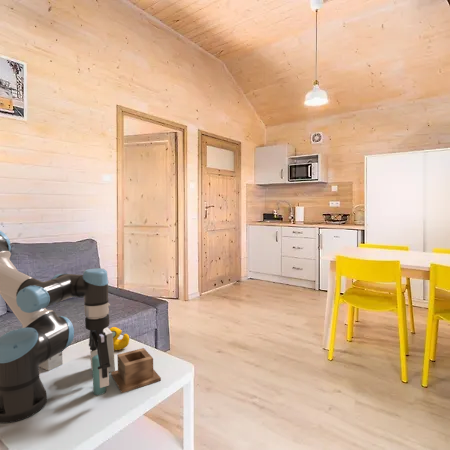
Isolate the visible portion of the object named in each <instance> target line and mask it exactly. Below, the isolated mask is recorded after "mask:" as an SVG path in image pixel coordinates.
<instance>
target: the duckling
mask: <svg viewBox="0 0 450 450" xmlns="http://www.w3.org/2000/svg"><path fill="white" fill-rule="evenodd" d="M109 329H110V330H111V332H112V333H113V347H114V352H116V351H120V350H122V349H125V348H126V347H128V346H129V344H130V335H129V334H128V333H124V334H123V336H122V338H121V339H120V336H121V334H122V331H123V330H122V329H120V328H118V327H116V326H113V327H110V328H109Z"/></svg>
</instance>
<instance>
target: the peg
mask: <svg viewBox="0 0 450 450" xmlns="http://www.w3.org/2000/svg"><path fill="white" fill-rule="evenodd" d="M99 366H100V364H99V358H98V355H96V356H94V357H93V358H92V370H91V371H92V392H93V395H95V396H102V395H103V394H105V393H106V391H107V386H105V387H102V388H100V380H99V369H98V367H99Z"/></svg>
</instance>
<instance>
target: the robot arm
mask: <svg viewBox="0 0 450 450" xmlns="http://www.w3.org/2000/svg"><path fill="white" fill-rule="evenodd" d="M11 250H12V245H11V241H10V238H9V237H8V235H7V234H6V233H4V232H3V231H2V230H0V296H1V298H2V299H3V300H4V301H5V303H6V304H7V306H8V308H10V310H11V311H12V313H13V314H14V315H15V317H16V318H17V320H18V322H20V324H21V325H22V327H21V328H20V327H19V328H17V329H16V330H15V329H13V330H10V331H8V332H6V333H4V334H2V335H1V336H0V424H8V423H13V422H18V421H21V420H24V419H27V418H29V417H31V416H33V415H34V414H36V413H38V412H39V411H41V410H42V409H43V408H44V407H45V405H46V403H47V399H48V397H47V391H46V389H45V386H44V384H43V383H42V380H41V378H40V377H41V376H40V367H39V365H40V364H41V363H43V362H45V361H46V360H48V359H50V358H51V357H53V356H54V355H56V354H58V353H60V352H62V353H63V351H64V350H66V349H68V347H69V346H71V344H72V342H73V341H74V336H75V335H74V334H75V329H74V326H73V325H74V324H73V323H72V321H71V320H70V319H69V318H68V317H67V316H64V315H59V316H58V314H57V313H56V312H55V311H54V310H52V309H47V307H50V306H53V305H55V304H58V303H60V302H63V301H65V300H67V299H71V298H79V299H80V298H84V299H83V301H84V303H83V304H84V307H83V308H84V309H83V310H84V317H85V319H84V320H85V321H84V326H85V329H86V331H87V330H88V331H89V338H88V347H89V350H90V369H91V371H93V370H92V358H93V357H94V356H96V355H98V358H99V364H100V366H99V367H98V369H99V380H100V388H102V387H105V386H106V387H107V386H110V377H109V376H110V375H109V373H110V372H109V370H108V367H110V361H109V354H108V347H107V336H106V335H105V332H103V330H104V329H105V328H107V327H108V328H109V326H110V315H109V313H110V310H109V309H110V308H109V307H111V303H109V280H108V279H109V278H108V271H107V270H106V269H105V268H99V267H98V268H89V269H85V270H84V271H83V274H71V273H58V274H55V275H54V276H53V277H51V278H50V279H49V280H46V281H42V280H39V279H36V278H34V277H32V276H30V275H28V274H26V273H23V272H21V271H19V270H18V269H17V268H16V266H15V265H14V263H13V262H12V261H11V259H10V258H11V255H12V253H11ZM96 349H97V350H96Z"/></svg>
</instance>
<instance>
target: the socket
mask: <svg viewBox="0 0 450 450" xmlns="http://www.w3.org/2000/svg"><path fill="white" fill-rule="evenodd" d="M116 355H117V370H115V371H112V372H110V375H111V377H112V379H113V381H114V382H115V384H116V386H117V387H118V389H119V391H120V393H122V394H123V393H126V392H130V391H133V390H136V389H138V388H141V387H145V386H149V385H151V384H154V383H157V382H160V381H162V377H160V375H159V374H158V373H157V371H156V370H155V369H154V358H153V356H152V355H151V354H150V353H149V352H148V351H147V350H146V348H144V347H142V348H139V349H134V350H130V351H126V352H122V353H118V354H116Z"/></svg>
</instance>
